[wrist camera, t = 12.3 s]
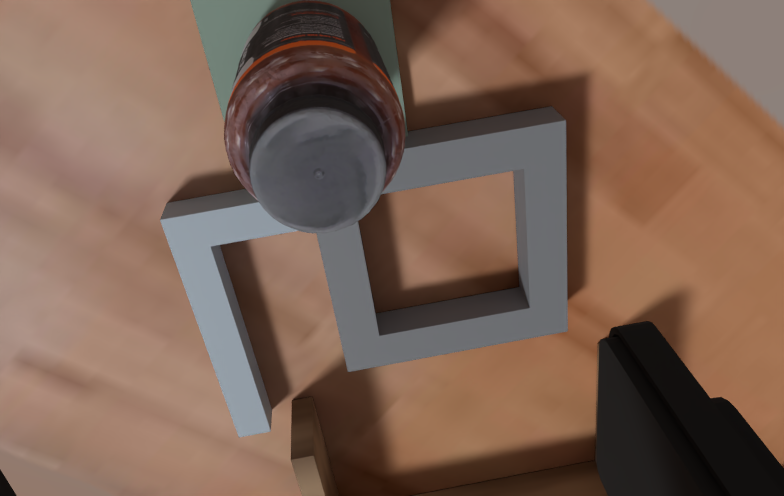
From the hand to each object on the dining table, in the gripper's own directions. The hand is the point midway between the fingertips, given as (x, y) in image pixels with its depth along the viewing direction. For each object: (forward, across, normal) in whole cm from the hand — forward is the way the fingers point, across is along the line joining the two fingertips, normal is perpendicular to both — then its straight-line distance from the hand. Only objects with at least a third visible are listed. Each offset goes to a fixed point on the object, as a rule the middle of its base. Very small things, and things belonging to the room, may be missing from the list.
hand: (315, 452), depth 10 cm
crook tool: (+22, +4, +12) cm, 26 cm away
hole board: (+22, -5, +10) cm, 25 cm away
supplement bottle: (+22, 0, 0) cm, 22 cm away
